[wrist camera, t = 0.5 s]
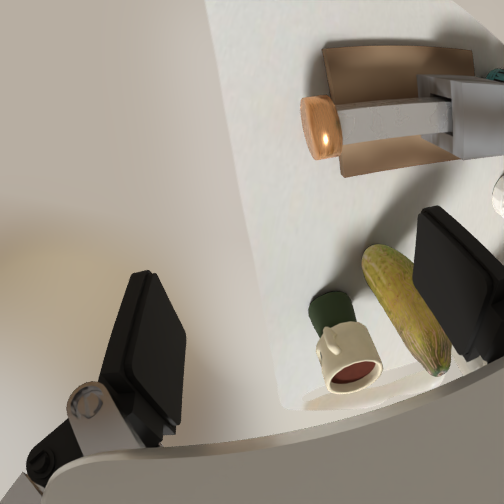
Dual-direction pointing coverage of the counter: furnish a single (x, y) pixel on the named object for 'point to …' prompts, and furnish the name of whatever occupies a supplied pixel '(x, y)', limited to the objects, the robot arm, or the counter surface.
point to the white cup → (499, 197)
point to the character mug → (343, 345)
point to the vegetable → (406, 307)
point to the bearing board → (417, 86)
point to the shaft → (370, 121)
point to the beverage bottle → (496, 75)
